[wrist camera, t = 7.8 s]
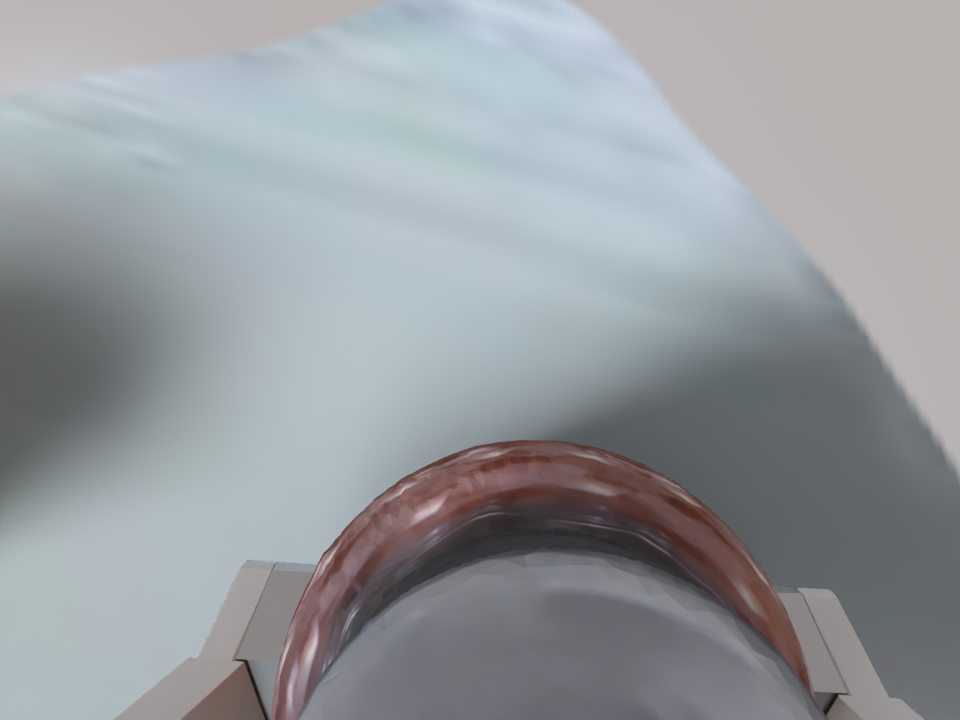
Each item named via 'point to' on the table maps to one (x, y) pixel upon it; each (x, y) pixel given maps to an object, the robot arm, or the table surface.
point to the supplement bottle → (540, 602)
